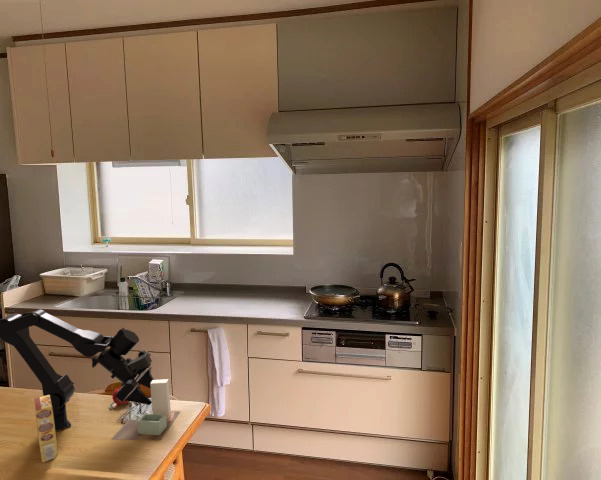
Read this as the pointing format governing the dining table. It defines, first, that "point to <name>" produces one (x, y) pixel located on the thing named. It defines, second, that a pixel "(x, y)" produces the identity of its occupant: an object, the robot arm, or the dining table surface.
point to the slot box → (152, 424)
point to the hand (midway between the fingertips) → (154, 396)
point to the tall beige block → (160, 397)
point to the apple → (116, 400)
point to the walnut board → (131, 433)
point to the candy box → (46, 428)
